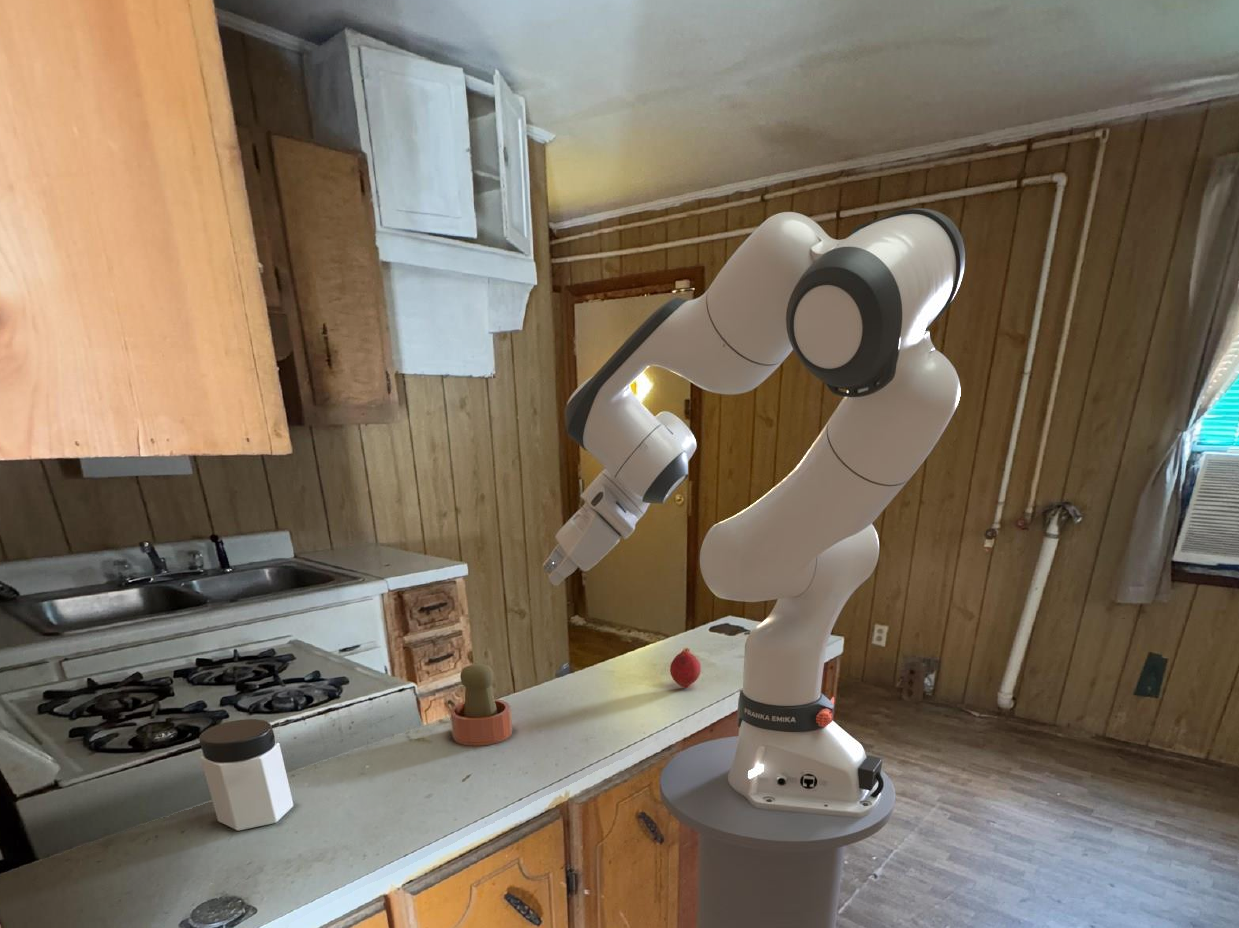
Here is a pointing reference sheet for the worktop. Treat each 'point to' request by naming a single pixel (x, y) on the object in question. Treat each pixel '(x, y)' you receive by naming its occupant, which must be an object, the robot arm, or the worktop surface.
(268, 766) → the jar
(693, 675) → the pomegranate
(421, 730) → the worktop surface
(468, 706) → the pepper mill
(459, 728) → the bowl
